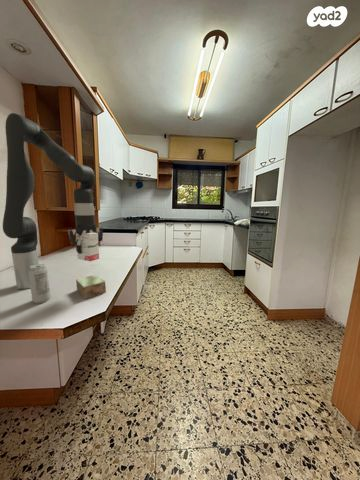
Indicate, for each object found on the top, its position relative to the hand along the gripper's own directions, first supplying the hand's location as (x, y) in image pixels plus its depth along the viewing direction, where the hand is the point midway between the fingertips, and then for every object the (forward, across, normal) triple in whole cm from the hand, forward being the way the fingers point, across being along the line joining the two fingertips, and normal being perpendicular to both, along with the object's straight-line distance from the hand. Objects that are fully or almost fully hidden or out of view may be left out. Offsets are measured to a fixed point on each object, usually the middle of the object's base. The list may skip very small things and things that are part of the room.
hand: (88, 251), depth 83 cm
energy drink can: (+19, -18, +5) cm, 27 cm away
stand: (+19, 0, 0) cm, 19 cm away
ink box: (+3, 0, 0) cm, 3 cm away
